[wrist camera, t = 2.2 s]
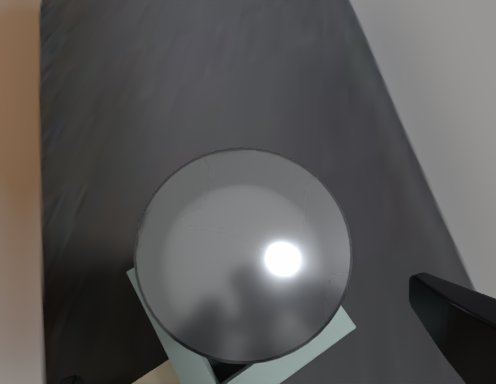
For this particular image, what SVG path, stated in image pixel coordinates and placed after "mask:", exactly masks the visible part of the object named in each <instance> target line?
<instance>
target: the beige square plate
mask: <svg viewBox="0 0 496 384" xmlns="http://www.w3.org/2000/svg"><path fill="white" fill-rule="evenodd" d="M132 384H181V382H180V380H179V378H178V376H177V374H176V372H175V370H174V368H173V366H172V364H171V362H170V360H167V361H166V362H164V363H163V364H161V365H160V366H158V367H157V368H155V369H153V370H152V371H150V372H149V373H147V374H146V375H144V376H143V377H141V378H140V379H138V380H137V381H135V382H134V383H132Z"/></svg>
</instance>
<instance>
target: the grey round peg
mask: <svg viewBox="0 0 496 384" xmlns="http://www.w3.org/2000/svg"><path fill="white" fill-rule="evenodd" d="M352 261H353V250H352V240H351V235H350V231H349V226H348V223H347V221H346V218H345V215H344V213H343V211H342V209H341V207H340V205H339V203H338V201H337V200H336V198H335V197H334V195H333V194H332V192H331V191H330V190H329V188H328V187H327V186H326V185H325V184H324V183H323V181H322V180H320V179H319V178H318V177H317V176H316V175H315V174H314V173H313V172H311V171H310V170H309V169H307V168H306V167H304V166H303V165H302V164H300V163H298V162H296V161H294V160H293V159H291V158H288V157H286V156H283V155H281V154H278V153H275V152H271V151H268V150H262V149H256V148H229V149H224V150H218V151H214V152H211V153H208V154H205V155H202V156H200V157H198V158H195V159H193V160H191V161H189V162H188V163H186V164H184V165H183V166H181V167H180V168H178V169H177V170H176V171H174V172H173V173H172V174H171V175H170V176H168V177H167V178H166V179H165V180H164V181H163V182H162V183H161V184H160V186H159V187H158V188H157V190H156V191H155V192H154V193H153V195H152V196H151V198H150V200H149V201H148V203H147V205H146V206H145V208H144V211H143V213H142V215H141V218H140V220H139V224H138V227H137V231H136V235H135V242H134V269H135V277H136V280H137V284H138V288H139V291H140V294H141V296H142V298H143V301H144V303H145V305H146V307H147V308H148V310H149V312H150V314H151V315H152V317H153V318H154V319H155V321H156V322H157V323H158V324H159V326H160V327H161V328H162V329H163V330H164V331H165V332H166V333H167V334H168V335H169V336H170V337H171V338H172V339H173V340H175V341H176V342H178V343H179V344H180V345H182V346H183V347H185V348H186V349H188V350H190V351H192V352H194V353H196V354H198V355H200V356H202V357H206V358H209V359H212V360H215V361H219V362H224V363H230V364H255V363H264V362H268V361H272V360H275V359H279V358H282V357H284V356H286V355H289V354H291V353H293V352H295V351H297V350H298V349H300V348H302V347H303V346H305V345H307V344H308V343H309V342H311V341H312V340H313V339H314V338H315V337H317V336H318V335H319V334H320V333H321V332H322V331H323V330H324V329H325V327H326V326H327V325H328V324H329V323H330V322H331V320H332V319H333V317H334V316H335V314H336V313H337V311H338V310H339V308H340V306H341V304H342V302H343V300H344V298H345V295H346V292H347V289H348V286H349V283H350V278H351V272H352Z"/></svg>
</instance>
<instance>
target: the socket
mask: <svg viewBox="0 0 496 384" xmlns="http://www.w3.org/2000/svg"><path fill="white" fill-rule="evenodd" d="M126 273H127V275H128V277H129V279H130V281H131V283H132V285H133V287H134V289H135V291H136V293H137V295H138V297H139V299H140V301H141V303H142V305H143V307H144V309H145V311H146V313H147V315H148V317H149V319H150V321H151V323H152V325H153V327H154V329H155V331H156V333H157V335H158V337H159V339H160V341H161V343H162V345H163V347H164V349H165V351H166V353H167V355H168V358H169V360H170V362H171V364H172V366H173V368H174V370H175V372H176V374H177V376H178V378H179V380H180V382H181V384H280V383H281V382H282V381H284V380H285V379H287V378H288V377H289V376H291V375H292V374H293V373H295V372H296V371H297V370H299V369H300V368H302V367H303V366H304V365H306V364H307V363H308V362H310V361H311V360H312V359H314V358H315V357H316V356H318V355H319V354H321V353H322V352H323V351H325V350H326V349H327V348H329V347H330V346H331V345H333V344H334V343H336V342H337V341H338V340H340V339H341V338H342V337H344V336H345V335H346V334H348V333H349V332H350V331H352V330H353V329H355V328H356V327H355V325H354V324H353V322H352V321H351V319H350V318H349V316H348V315H347V314H346V312H345V311H344V309H343V308H342V306H340V308H339V310H338V311H337V313H336V314H335V316H334V317H333V319H332V320H331V322H330V323H329V324H328V325H327V326H326V327H325V329H324V330H323V331H322V332H321V333H320V334H319V335H318V336H317V337H315V338H314V339H313V340H312V341H311V342H309V343H308V344H307V345H305V346H303V347H302V348H300V349H298V350H297V351H295V352H293V353H291V354H289V355H286V356H284V357H282V358H279V359H275V360H272V361H268V362H264V363H255V364H247V365H246V366H245V367H243V368H242V369H240V370H239V371H238V372H236V373H235V374H233V375H232V376H230V377H229V378H228V379H226V380H225V381H223V382H222V383H220V382H219V380H218V379H217V377H216V375H215V373H214V371H213V369H212V367H211V365H210V363H209V362H208V360H207V358H206V357H202V356H200V355H198V354H196V353H194V352H192V351H190V350H188V349H186V348H185V347H183V346H182V345H180V344H179V343H178V342H176V341H175V340H173V339H172V338H171V337H170V336H169V335H168V334H167V333H166V332H165V331H164V330H163V329H162V328H161V327H160V326H159V324H158V323H157V322H156V321H155V319H154V318H153V317H152V315H151V314H150V312H149V310H148V308H147V307H146V305H145V303H144V301H143V298H142V296H141V294H140V291H139V288H138V284H137V280H136V277H135V269H134V268H132V269H130V270H129V271H127V272H126Z"/></svg>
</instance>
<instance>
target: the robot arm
mask: <svg viewBox="0 0 496 384" xmlns="http://www.w3.org/2000/svg"><path fill="white" fill-rule="evenodd" d="M409 302H410V305H411V307H412V309H413V310H414V312H415V313H416V315H417V316H418V318H419V319H420V321H421V322H422V324H423V325H424V327H425V328H426V330H427V331H428V333H429V334H430V336H431V337H432V339H433V340H434V342H435V343H436V345H437V347H438V348H439V349H440V351H441V352H442V354H443V355H444V356H445V358H446V359H447V360H448V362H449V363H450V364H451V365H452V367H453V368H454V369H455V370H456V372H457V373H458V374H459V375H460V377H461V378H462V379H463V380H464V382H465V383H466V384H496V299H495V298H492V297H489V296H487V295H484V294H481V293H479V292H476V291H473V290H471V289H468V288H465V287H463V286H460V285H457V284H455V283H452V282H449V281H447V280H444V279H441V278H439V277H436V276H433V275H431V274H428V273H419V274H416V275H413V276H411V277H410V279H409ZM58 384H85V382H84V380H83V378H82V377H81V376H80V375H73V376H70V377H67V378H64V379H62V380H61V381H60V382H59V383H58Z"/></svg>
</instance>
